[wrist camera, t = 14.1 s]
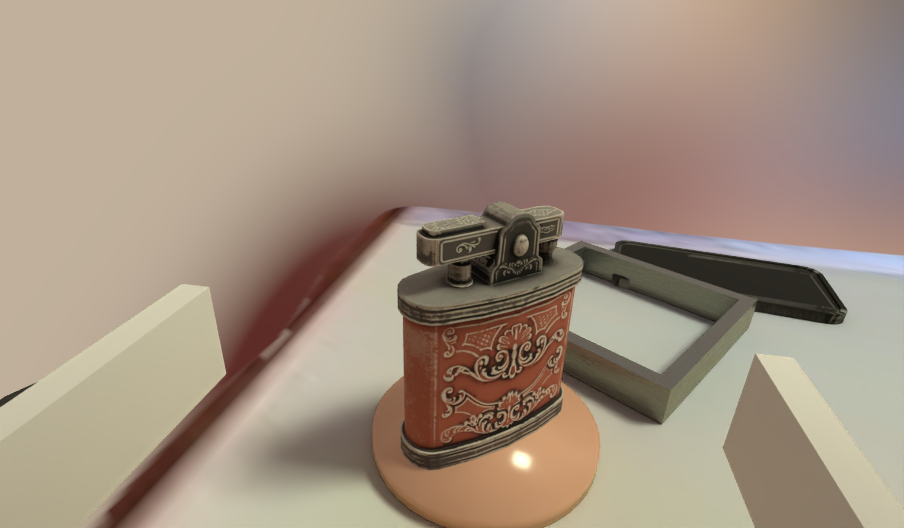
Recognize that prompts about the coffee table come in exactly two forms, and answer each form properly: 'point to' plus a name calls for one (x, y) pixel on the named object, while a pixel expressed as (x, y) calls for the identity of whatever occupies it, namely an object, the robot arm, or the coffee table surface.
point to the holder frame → (675, 384)
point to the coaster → (494, 471)
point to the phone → (747, 280)
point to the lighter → (484, 333)
